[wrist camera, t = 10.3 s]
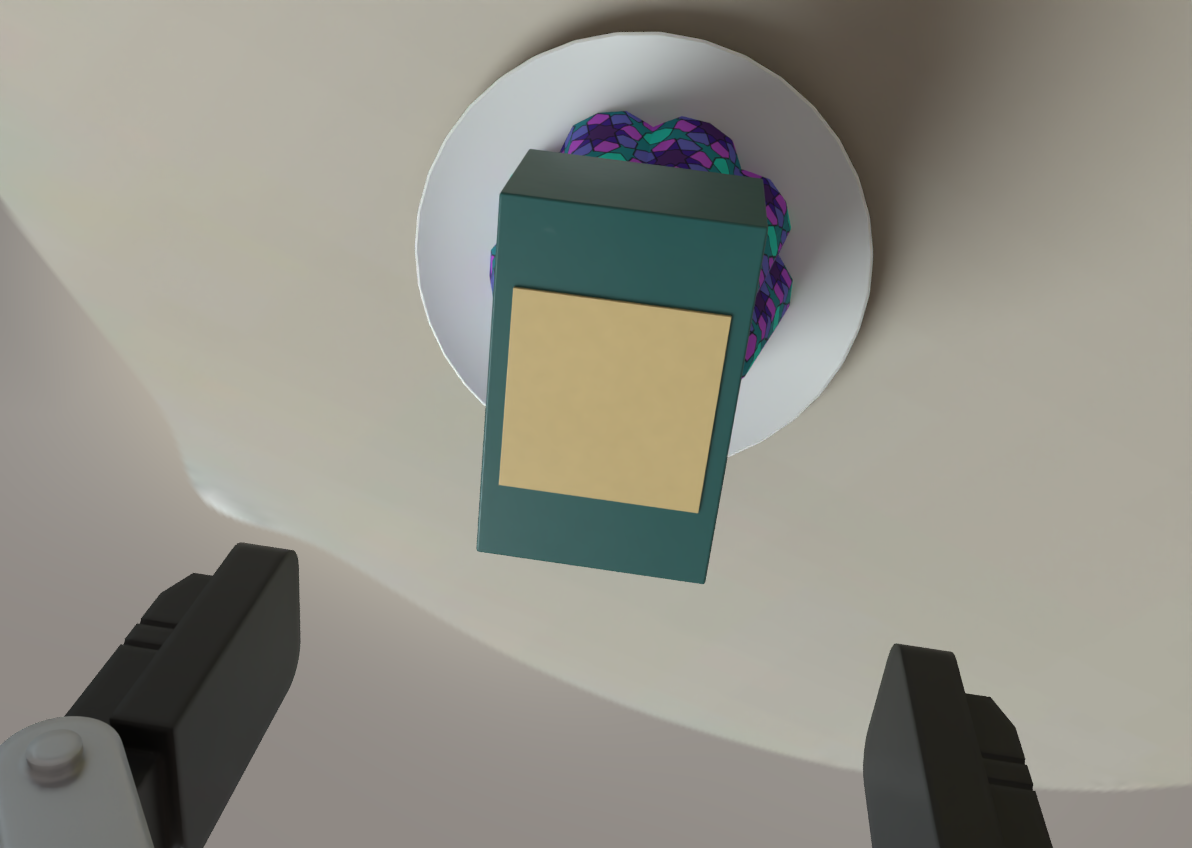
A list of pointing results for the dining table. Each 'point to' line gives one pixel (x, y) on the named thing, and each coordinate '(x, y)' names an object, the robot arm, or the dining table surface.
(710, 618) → the dining table surface
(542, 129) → the pudding
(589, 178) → the packet
